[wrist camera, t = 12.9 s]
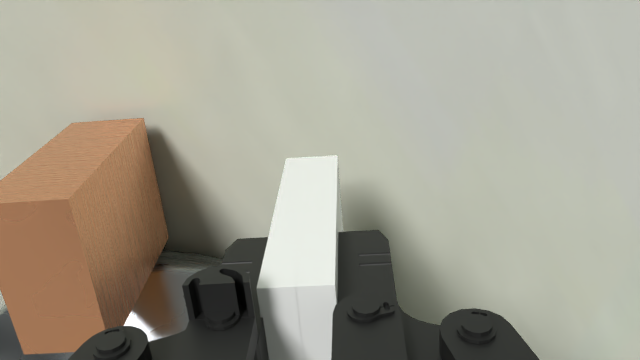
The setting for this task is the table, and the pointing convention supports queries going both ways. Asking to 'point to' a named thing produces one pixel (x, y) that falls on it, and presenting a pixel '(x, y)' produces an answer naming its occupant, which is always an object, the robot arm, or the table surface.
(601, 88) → the table surface
